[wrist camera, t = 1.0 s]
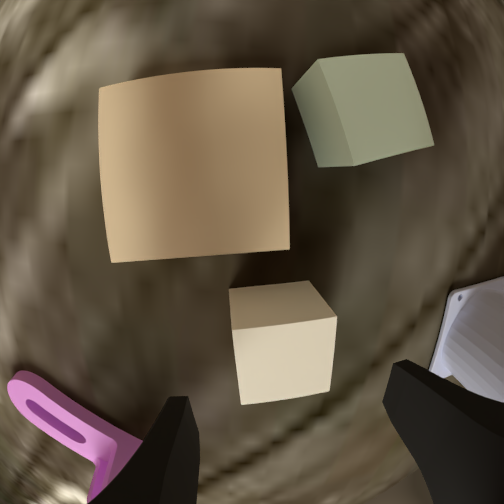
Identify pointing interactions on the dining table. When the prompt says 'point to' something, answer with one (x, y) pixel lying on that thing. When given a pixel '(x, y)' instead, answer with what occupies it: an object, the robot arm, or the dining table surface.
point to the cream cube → (281, 341)
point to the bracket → (73, 427)
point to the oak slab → (194, 164)
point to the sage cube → (361, 109)
